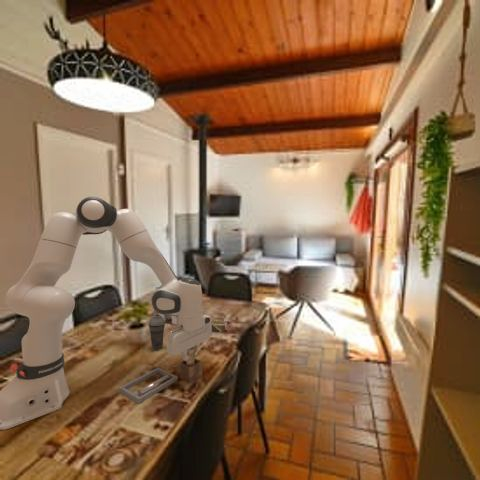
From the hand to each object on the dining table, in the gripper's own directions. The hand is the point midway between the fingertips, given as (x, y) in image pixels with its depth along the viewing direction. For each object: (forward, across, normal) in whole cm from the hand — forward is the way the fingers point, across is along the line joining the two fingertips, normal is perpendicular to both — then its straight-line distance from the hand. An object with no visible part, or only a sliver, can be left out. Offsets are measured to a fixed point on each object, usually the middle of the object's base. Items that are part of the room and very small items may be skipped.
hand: (190, 357), depth 117 cm
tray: (+8, -13, +8) cm, 17 cm away
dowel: (+8, 0, 0) cm, 8 cm away
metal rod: (+8, -13, +5) cm, 16 cm away
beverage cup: (+8, +9, +30) cm, 32 cm away
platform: (+9, +41, +21) cm, 46 cm away
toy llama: (+8, +35, +51) cm, 62 cm away
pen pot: (+8, 0, 0) cm, 8 cm away
